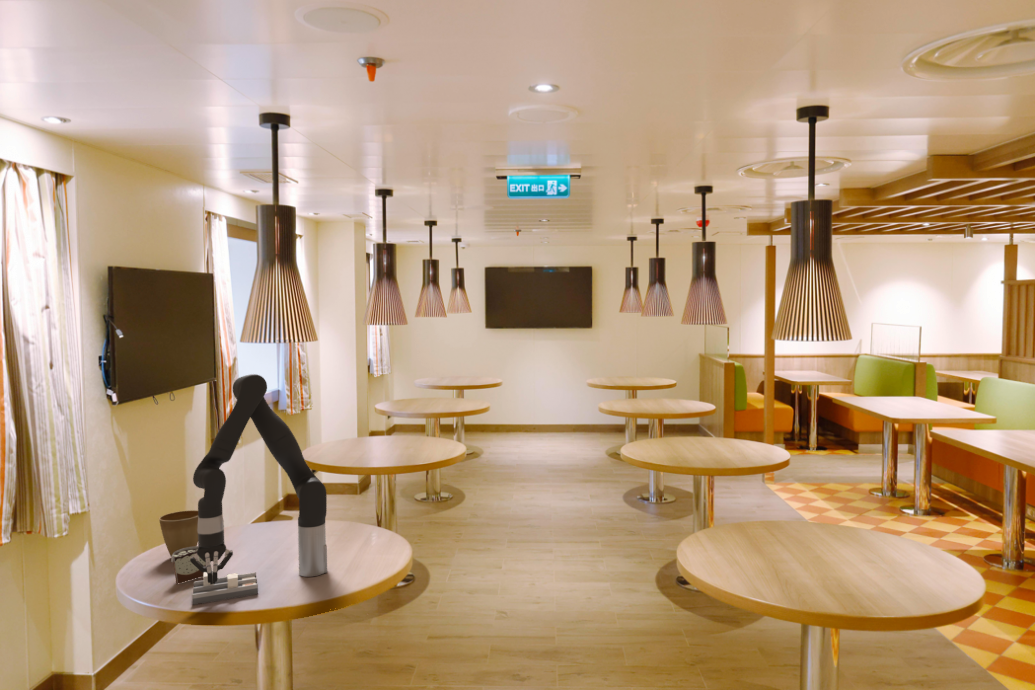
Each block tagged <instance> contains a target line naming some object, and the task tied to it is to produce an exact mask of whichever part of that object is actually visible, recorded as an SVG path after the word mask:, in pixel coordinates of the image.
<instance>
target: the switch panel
mask: <svg viewBox="0 0 1035 690" xmlns="http://www.w3.org/2000/svg"><path fill="white" fill-rule="evenodd" d="M258 584H259V583H258V578H257V572H247V573H241V574H238V587H234V588H228V577H227V576H224V577H223V576H221V577H218V580H217V582H215V584H214V585H208V586H204V584H203V580H197V581H193V587H192V594H191V599H192V602H191V603H192V604H196V605H199V604H198V603H202V604H207V603H206V602H208V603H214V602H220V601H224V600H226V601H227V600H231V599H236V598H243V597H248V596H255V595H258V594H259V585H258Z"/></svg>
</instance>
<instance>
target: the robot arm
mask: <svg viewBox="0 0 1035 690" xmlns="http://www.w3.org/2000/svg"><path fill="white" fill-rule="evenodd" d="M267 390H268V383H267V381H266V379H265V378H264V377H263V376H262V375H260V374H257V373H255V374H254V373H253V374H252V373H251V374H247V375H243V376H240V377H238V378H237V379H236V380H235V381H234V382H233V384H232V393H233V396H234V398H235V399H236V401H235V404H234V406H233V408H232V410H231V412H230V413H229V415H228V417H227V418H226V420H225V421H224V422H223V424H222V426H221V427H220V429H219V430H218V432H217V433H216V436H215V437H214V439H213V442H212V444H211V446H210V449H209V451H208V452H207V453H206V454H205V456H204V457H203V458H202V459H201V461H200V462H199V464H198V465H197V467H196V468H195V470H194V473H193V477H192V482H193V484H194V486H196V488H199V489H203V490H204V491H203V493H204V494H203V497H201V498H199V500H198V503H197V510H198V529H197V530H198V543H197V546H198V550H197V553H196V554H195V555H194V556H191V558H190V562H191V563H192V564H194V565H195V566H196V567H197V568H198V569H199V570H200V571H201V572H206V573H207V574H208V583H210V584H215V582H217V580H218V578H219V577H218V572H219V571H220V570H223V569H224V568H225V566H226V565H227V564H228V562H229V561H230V560H231V558H232V557H233V555H234V552H233V550H232V549H231V550H230V549H228V548H227V546H226V544H225V524H224V522H225V521H224V516H223V514H224V513H223V499H224V495H225V490H226V486H227V479H226V475H225V474H226V473H225V472H224V470H223V469H221V466H223V464H225V463H228V462H229V461H231V458H232V457H233V455H234V453H235V450H236V448H237V445H238V443H239V441H240V439H241V437H242V435H243V432H244V431H245V429H246V426H247V424H248V422H249V420H250V419H251V421H252V423H253V424H254V426H255V428H256V429H257V431H258V434H259V435H260V437H261V438H262V440H263V442H264V444H265V446H266V448H267V449H268V450H269V452H270V453H271V455H272V457H273V458H274V459H275V460H276V462H277V463H278V464H279V466H280V467H281V468H282V470H284V472H285V473H286V475H287V477H288V478H289V481H290V482H291V484H292V487H293V489H294V491H295V495H296V497H297V498H298V509H299V510H298V512H299V513H298V517H297V536H298V538H297V542H298V543H297V544H298V575H299V576H301V577H305V578H306V577H309V578H310V577H318V576H321V575H323V574H327V573H328V546H327V543H326V542H327V540H326V539H327V538H326V537H327V536H326V535H327V533H326V531H327V530H326V517H327V499H328V498H327V489H326V486H325V484H324V483H323V482H322V481H321V480H320V479H319V478H318V477H317V476H316V475H315V473H314V472H313V471H312V470H311V468H310V466H309V465H308V463H307V462H306V460H305V458H304V455H303V452H302V450H301V447H300V445H299V443H298V441H297V439H296V436H295V435H294V433H293V432H292V430H291V428H290V427H289V426H288V425H287V423H286V422H285V421H284V420H283V419H282V418H281V417H280V416H279V415H278V414H277V413H276V412H275V411H273V409H272V408H271V406H269V404H268V402H267V401H266V398H265V395H266V393H267ZM223 555H224V557H223ZM198 556H199V557H200V558H201V559H202V560H203V561H204V562H206V567H205V566H204V565H203V564H201V563H200V562H199V558H198ZM222 557H223V559H222V560H221V558H222ZM219 560H221V561H220V563H219V564H218V561H219ZM211 562H213V564H212V563H211ZM212 565H213V566H212ZM212 571H213V576H212Z"/></svg>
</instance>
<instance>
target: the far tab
mask: <svg viewBox="0 0 1035 690" xmlns="http://www.w3.org/2000/svg"><path fill="white" fill-rule="evenodd" d="M212 576H213V570H212ZM202 579H203V584H204V586H208V585H214V584H210V583H208V574H207V573H206V572H204V575H203V577H202Z"/></svg>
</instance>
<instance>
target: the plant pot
mask: <svg viewBox="0 0 1035 690" xmlns="http://www.w3.org/2000/svg"><path fill="white" fill-rule="evenodd" d="M158 519H159V525H160V529H161V534H162V536H163V540H164V541H163V542H164V543H165V546H166V549H167V551H168V553H169V556H170V557H171V558H172V555H173V553H174V552H175V551H177V550H180V549H183V548H188V547H194V546H198V530H197V529H198V509H197V510H195V509H194V510H193V509H192V510H191V509H190V510H181V511H180V510H179V511H174V512H169V513H166V514H164V515H162V516H160V517H159V518H158ZM171 558H170V559H171Z"/></svg>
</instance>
